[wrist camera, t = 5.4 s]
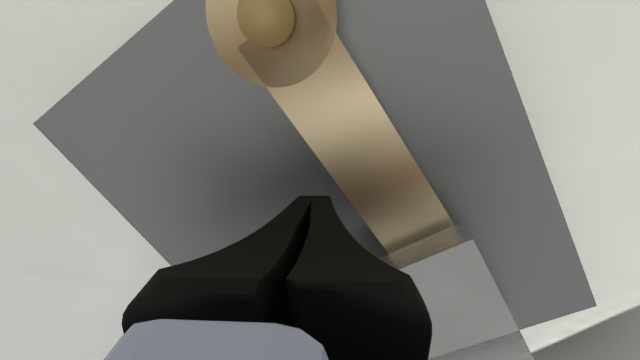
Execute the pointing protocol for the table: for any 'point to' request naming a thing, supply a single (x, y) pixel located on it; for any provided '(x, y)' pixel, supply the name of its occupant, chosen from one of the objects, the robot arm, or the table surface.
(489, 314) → the block
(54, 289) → the table surface
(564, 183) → the table surface
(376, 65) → the board
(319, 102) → the link
